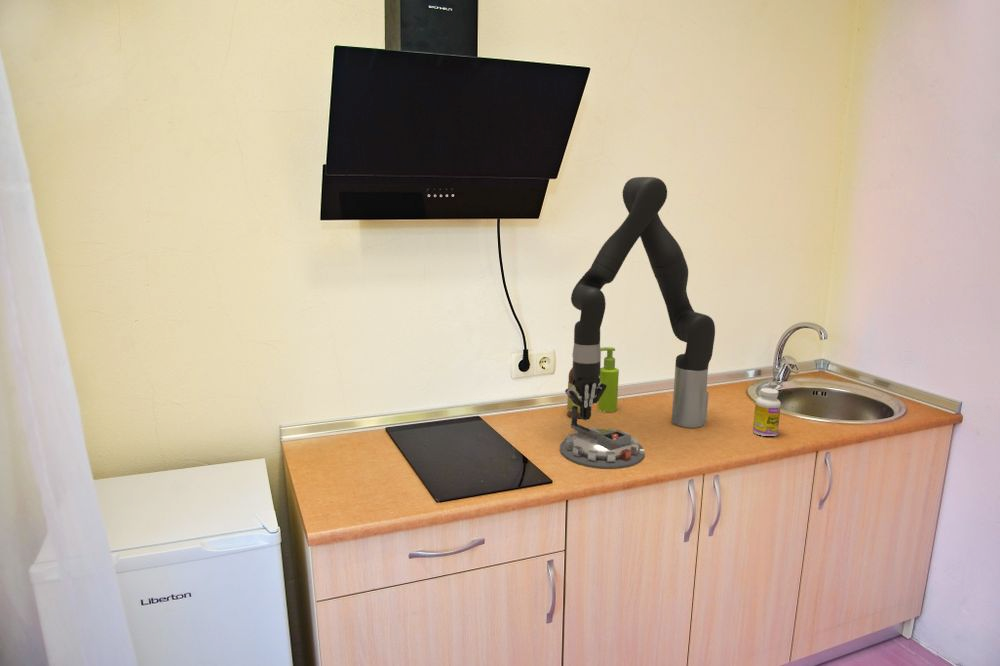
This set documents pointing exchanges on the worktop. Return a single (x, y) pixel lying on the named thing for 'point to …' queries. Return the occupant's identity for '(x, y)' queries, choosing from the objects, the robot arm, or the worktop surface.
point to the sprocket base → (599, 462)
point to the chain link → (613, 440)
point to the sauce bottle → (570, 402)
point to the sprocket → (588, 447)
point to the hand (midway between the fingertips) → (585, 418)
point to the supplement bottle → (767, 413)
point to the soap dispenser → (609, 382)
